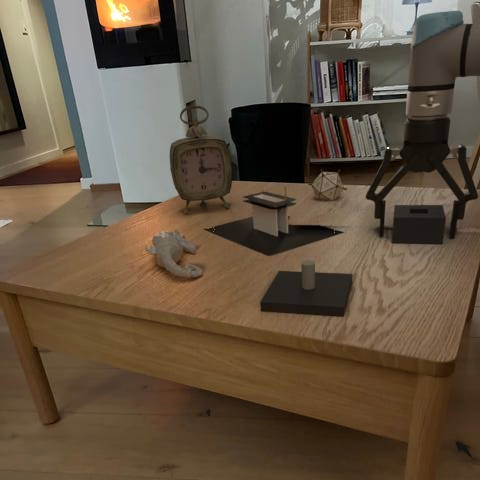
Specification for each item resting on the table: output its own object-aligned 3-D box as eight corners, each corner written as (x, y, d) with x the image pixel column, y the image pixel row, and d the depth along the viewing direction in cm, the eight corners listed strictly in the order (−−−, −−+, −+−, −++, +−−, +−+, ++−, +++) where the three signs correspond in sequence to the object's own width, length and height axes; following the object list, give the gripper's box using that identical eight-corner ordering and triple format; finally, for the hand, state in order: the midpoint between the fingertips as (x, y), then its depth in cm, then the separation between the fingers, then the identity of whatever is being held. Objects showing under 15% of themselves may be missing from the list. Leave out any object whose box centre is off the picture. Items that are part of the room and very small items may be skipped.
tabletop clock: (179, 217, 119) (164, 109, 108) (175, 209, 127) (160, 107, 116) (235, 209, 122) (226, 103, 110) (228, 202, 130) (218, 101, 118)
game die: (320, 215, 124) (308, 181, 125) (352, 202, 122) (339, 167, 123) (315, 207, 116) (301, 170, 117) (349, 192, 113) (334, 155, 114)
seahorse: (228, 265, 84) (185, 224, 98) (169, 259, 78) (132, 217, 92) (220, 291, 86) (179, 247, 101) (161, 287, 80) (127, 241, 94)
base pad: (352, 282, 76) (353, 249, 74) (343, 316, 66) (344, 280, 64) (279, 278, 80) (277, 247, 77) (260, 311, 70) (258, 276, 67)
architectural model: (272, 211, 118) (270, 170, 113) (344, 232, 99) (345, 184, 94) (203, 229, 109) (198, 185, 104) (268, 255, 90) (265, 204, 85)
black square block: (439, 229, 96) (442, 204, 93) (442, 244, 88) (445, 217, 86) (393, 228, 98) (394, 204, 96) (391, 243, 91) (393, 217, 88)
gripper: (354, 123, 84) (350, 239, 94) (510, 115, 76) (487, 243, 86) (357, 118, 90) (353, 228, 100) (502, 111, 83) (482, 230, 93)
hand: (415, 235), depth 93 cm, fingers open, 12 cm apart
